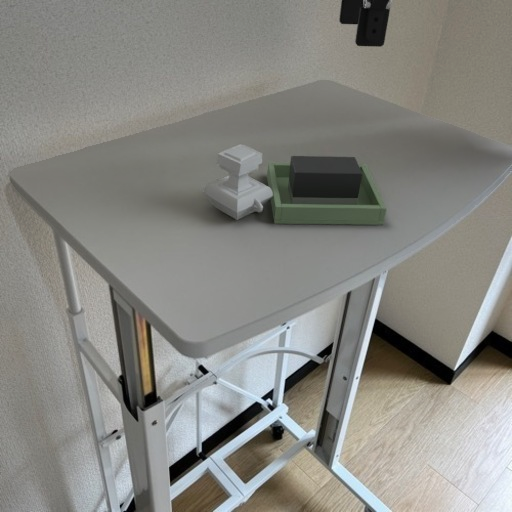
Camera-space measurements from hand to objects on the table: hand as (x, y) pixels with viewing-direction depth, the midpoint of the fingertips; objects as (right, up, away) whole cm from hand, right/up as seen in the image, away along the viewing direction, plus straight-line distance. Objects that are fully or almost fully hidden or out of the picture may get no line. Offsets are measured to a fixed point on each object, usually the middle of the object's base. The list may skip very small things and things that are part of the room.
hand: (359, 34), depth 66 cm
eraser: (-3, -18, +11) cm, 22 cm away
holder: (-3, -19, +11) cm, 22 cm away
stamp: (-15, -21, +8) cm, 27 cm away
